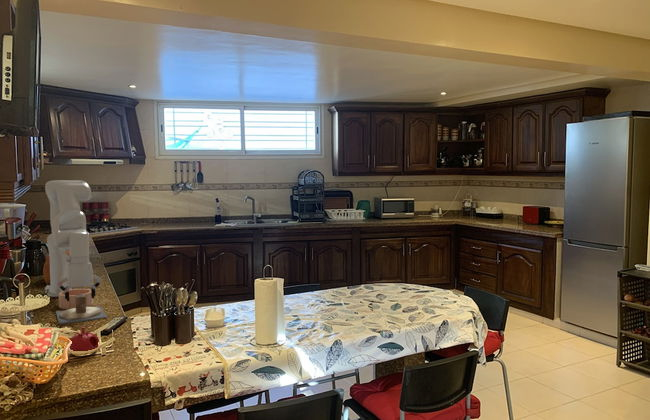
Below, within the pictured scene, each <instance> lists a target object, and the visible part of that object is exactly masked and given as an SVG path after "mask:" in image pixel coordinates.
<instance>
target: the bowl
mask: <svg viewBox="0 0 650 420" xmlns="http://www.w3.org/2000/svg"><path fill="white" fill-rule="evenodd" d="M91 289H92V288H72V290H68V291H69V301H67V299H65V292H64V291H63V292H60V293H59V297H58V308H60V309H63V310H64V309H65V310H68V309H72V308H76V304H75V295H81V294H85V296H86V307H91V306H92V305H93V304H94V298H92V297H91Z"/></svg>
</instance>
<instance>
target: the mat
mask: <svg viewBox="0 0 650 420" xmlns="http://www.w3.org/2000/svg"><path fill="white" fill-rule="evenodd" d="M94 307H97V308H100V309H101V313H100V314H99V315H96V316H93V317H89V318H84V319H63V318H61V317H60V313H61V312H63V311H65V310H66V309H65V310H64V309H63V310H56V311H55V315H56V318H57V322H58V325H66V324H74V322H75V323H80V322H81V323H82V322H88V320H89V321H96V320H95V319H97V320H101V319H100V318H104V319H107V318H108V316H107V314H106V312H105V311H104V310H103V308H102V306H101V305H97V306H95V305H94Z"/></svg>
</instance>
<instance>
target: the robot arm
mask: <svg viewBox="0 0 650 420" xmlns="http://www.w3.org/2000/svg"><path fill="white" fill-rule="evenodd" d="M44 186H45V187H44V188H45V193H46V196H47V198H48V201H49V206H50V207H49V208H50V213H49V214H50V222H49V223H50V227H51V233H50V234H49V235H47V238H46V244H47V250H48V254H49V257H50V284H48V285H46V286H44V290H46V291H48V292H47V293H46V295H47V297H51V298H52V297H53V298H57V297H58V298H59V293H60V292H63V291H64V292H65V299H67V301H69V291H68V290H72V289H77V288H83V287H90V289H91V297H92V298H93V299H95V297H96V289H97V288H98V287H99V286H100V284H101V282H102V280H103V278H102V277H100V276H97V275H95V274H94V271H93V265H92V262H90V247H89V245H90V244H89V242H90V234H89V232H88V230H87V217H86V215H85V213H84V212H83V211H81V205H80V202H87V201H90V200H91V198H92V189H91V187H90V185H89V184H88V183H87V182H86V181H84V180H80V179H79V180H77V179H76V180H73V179H72V180H71V179H70V180H63V179H61V180H59V179H57V180H55V179H54V180H49V181H47V182H46V183H45V185H44ZM65 251H69V255H70V256H68V255H67V254H66V253H65ZM94 280H96V282H95V283H94Z"/></svg>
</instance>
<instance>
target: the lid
mask: <svg viewBox="0 0 650 420" xmlns="http://www.w3.org/2000/svg"><path fill="white" fill-rule="evenodd" d="M75 304H76V308H72V309H65V311H63V310H62V311H63V312H61V313H60V317H61V318H63V319H84V318H89V317H93V316H96V315H99V314H100V313H101V309H100V308H97V307H95V306H88V307H86V296H85V294H81V295H75Z"/></svg>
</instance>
